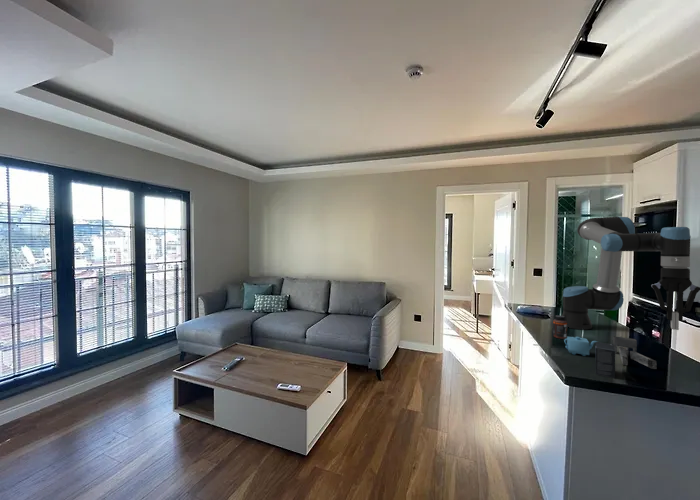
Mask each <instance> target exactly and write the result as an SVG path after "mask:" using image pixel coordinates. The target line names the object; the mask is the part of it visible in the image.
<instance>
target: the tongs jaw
mask: <svg viewBox="0 0 700 500" xmlns="http://www.w3.org/2000/svg"><path fill="white" fill-rule="evenodd" d="M629 358H630V359H631V360H632V361H633V360H634V361H636V362H638V363H639V364H641V365H644V366H646V367H647V368H650V369H652V370H657V366H658V365H657V360H656V359H655V360H654V359H653V358H651V357H648V356H645V355H643V354H641V353H639V352H634V351H633V350H630V351H629Z"/></svg>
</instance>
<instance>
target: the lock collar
mask: <svg viewBox="0 0 700 500" xmlns="http://www.w3.org/2000/svg"><path fill="white" fill-rule="evenodd" d="M613 344H614V349H615V354H617V353H618V352H617V351H618V349H617V347H623V348H627V349H632V351H634V352H637V351H638V350H637V349H638V348H637V347H638V342H637V339H636V338H630V337H622V336H615V335H614V336H613ZM637 353H638V352H637Z"/></svg>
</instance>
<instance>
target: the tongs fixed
mask: <svg viewBox="0 0 700 500" xmlns="http://www.w3.org/2000/svg"><path fill="white" fill-rule="evenodd" d="M618 347H619V349H618V351H619V352H618V355H619V358H620V360H621V363H622V365H623V366H627V367H628V365H629V349H625V347H620V346H618Z"/></svg>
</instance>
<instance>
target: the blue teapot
mask: <svg viewBox="0 0 700 500" xmlns="http://www.w3.org/2000/svg"><path fill="white" fill-rule="evenodd" d="M563 341H564V344H565V349H567V351H568V353H570V354H571V355H573V356H575V355H577V354H579V355H581V356H583V357H586V356H590V350H592V348H593V346H594V344H596V342H599V341H597V340H592V341H591V342H590V341H589V340H588V339H587V338H585V337H580V336H568V335H567V338H566V339H563Z"/></svg>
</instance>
